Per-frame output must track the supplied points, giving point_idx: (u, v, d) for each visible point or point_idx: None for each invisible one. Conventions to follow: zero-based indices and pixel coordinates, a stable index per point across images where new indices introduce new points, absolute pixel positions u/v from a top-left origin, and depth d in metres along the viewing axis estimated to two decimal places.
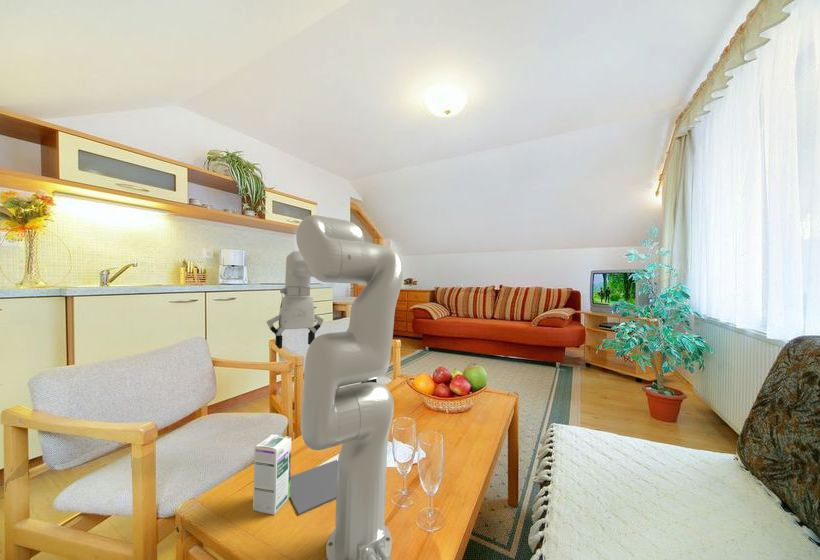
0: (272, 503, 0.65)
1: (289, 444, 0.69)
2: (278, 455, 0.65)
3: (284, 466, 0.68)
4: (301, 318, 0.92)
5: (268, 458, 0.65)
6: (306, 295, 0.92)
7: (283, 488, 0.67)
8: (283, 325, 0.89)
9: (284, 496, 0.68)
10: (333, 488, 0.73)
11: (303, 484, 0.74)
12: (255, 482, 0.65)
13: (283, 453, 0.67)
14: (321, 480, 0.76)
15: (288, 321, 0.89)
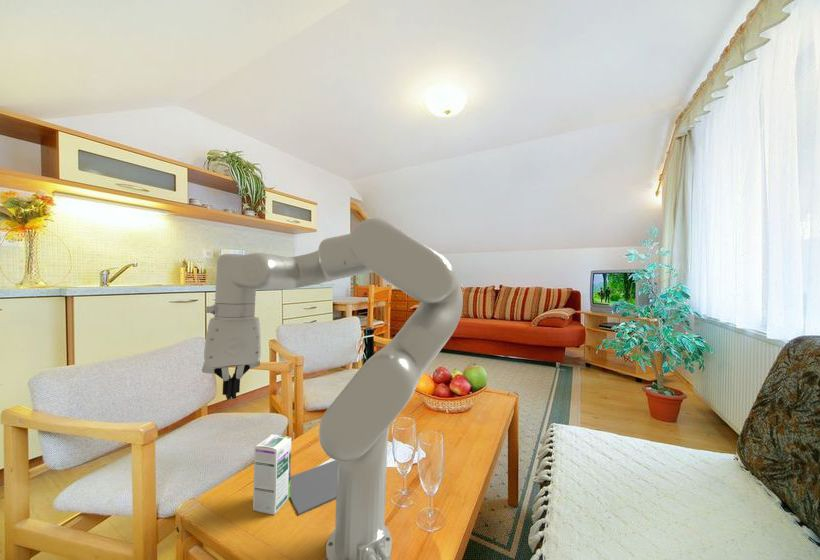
0: (272, 504, 0.65)
1: (289, 444, 0.69)
2: (278, 455, 0.65)
3: (284, 466, 0.68)
4: (238, 350, 0.61)
5: (268, 458, 0.65)
6: (246, 316, 0.62)
7: (283, 488, 0.67)
8: (208, 363, 0.58)
9: (284, 496, 0.68)
10: (333, 488, 0.73)
11: (303, 484, 0.74)
12: (255, 482, 0.65)
13: (283, 453, 0.67)
14: (321, 480, 0.76)
15: (216, 356, 0.59)
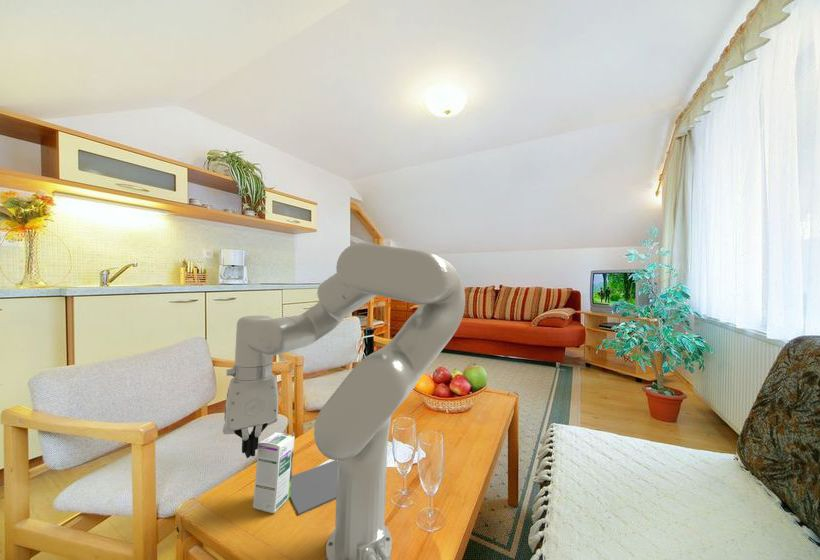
0: (273, 502, 0.65)
1: (292, 443, 0.70)
2: (281, 452, 0.66)
3: (286, 465, 0.68)
4: (258, 411, 0.64)
5: (271, 455, 0.66)
6: (265, 377, 0.64)
7: (284, 487, 0.67)
8: (229, 426, 0.60)
9: (284, 495, 0.68)
10: (333, 488, 0.73)
11: (303, 484, 0.74)
12: (257, 479, 0.66)
13: (286, 451, 0.68)
14: (321, 480, 0.76)
15: (237, 419, 0.61)
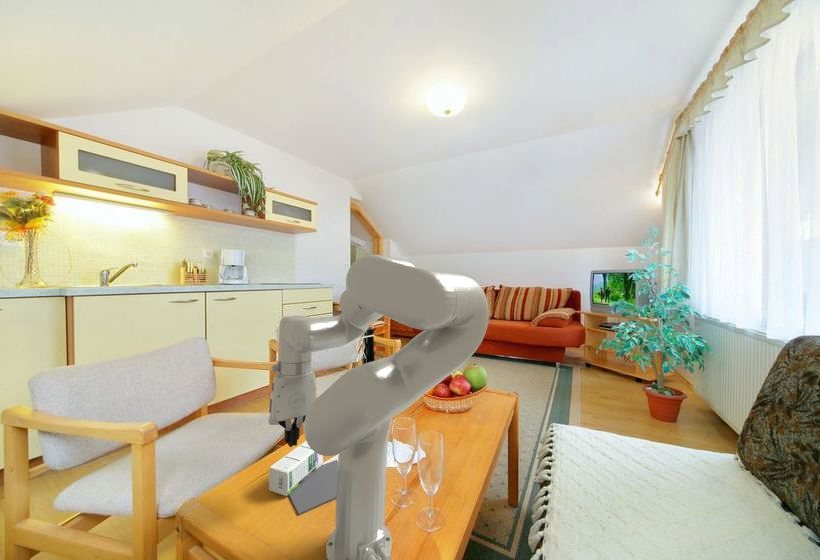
0: (292, 466, 0.72)
1: (320, 463, 0.82)
2: None
3: (311, 465, 0.78)
4: (299, 403, 0.69)
5: None
6: (306, 372, 0.69)
7: (298, 474, 0.73)
8: (275, 417, 0.66)
9: (292, 481, 0.71)
10: (333, 488, 0.73)
11: (303, 484, 0.74)
12: (289, 453, 0.77)
13: (318, 456, 0.81)
14: (321, 480, 0.76)
15: (282, 410, 0.66)
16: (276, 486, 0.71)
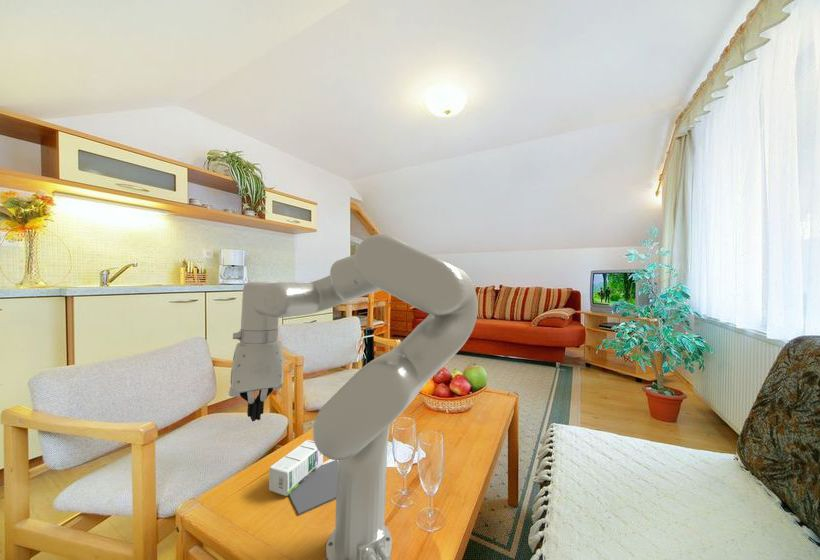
0: (292, 466, 0.72)
1: (320, 463, 0.82)
2: None
3: (311, 465, 0.78)
4: (263, 374, 0.64)
5: (313, 445, 0.82)
6: (271, 341, 0.65)
7: (298, 474, 0.73)
8: (235, 387, 0.61)
9: (292, 481, 0.71)
10: (333, 488, 0.73)
11: (303, 484, 0.74)
12: (289, 453, 0.77)
13: (318, 456, 0.81)
14: (321, 480, 0.76)
15: (243, 381, 0.62)
16: (276, 486, 0.71)
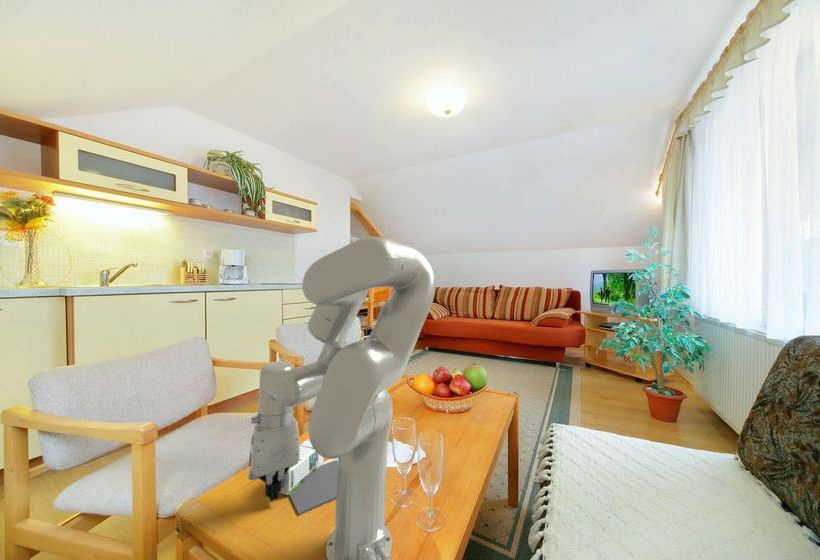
0: None
1: (320, 462, 0.82)
2: None
3: (311, 464, 0.78)
4: (281, 456, 0.66)
5: None
6: (288, 423, 0.67)
7: (299, 473, 0.74)
8: (255, 473, 0.63)
9: (294, 480, 0.72)
10: (333, 488, 0.73)
11: (303, 484, 0.74)
12: None
13: (319, 456, 0.81)
14: (321, 480, 0.76)
15: (262, 465, 0.64)
16: None
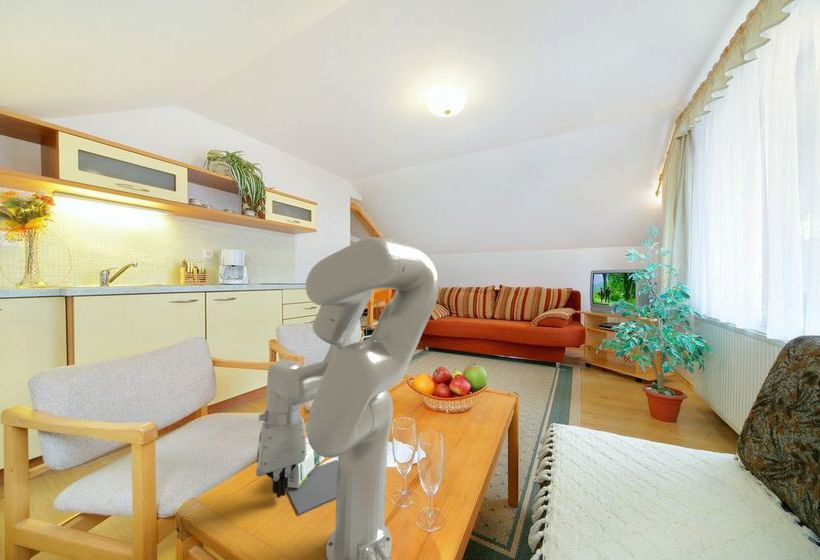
0: None
1: (322, 457, 0.84)
2: None
3: (316, 459, 0.80)
4: (287, 453, 0.67)
5: None
6: (294, 421, 0.68)
7: (307, 467, 0.76)
8: (262, 469, 0.64)
9: (303, 473, 0.74)
10: (333, 488, 0.73)
11: (303, 484, 0.74)
12: None
13: None
14: (321, 480, 0.76)
15: (269, 462, 0.65)
16: None
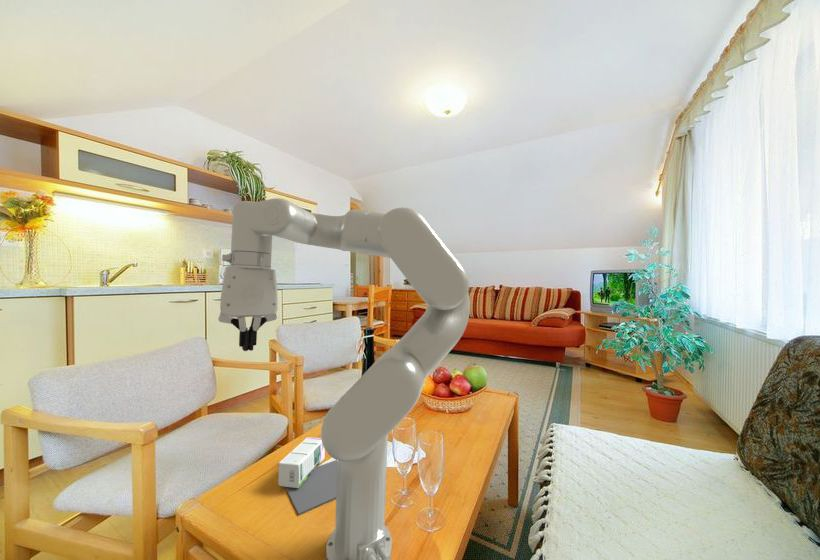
0: (301, 459, 0.75)
1: (322, 457, 0.84)
2: (322, 443, 0.85)
3: (316, 459, 0.80)
4: (255, 300, 0.60)
5: (315, 441, 0.84)
6: (263, 265, 0.60)
7: (307, 467, 0.76)
8: (225, 310, 0.56)
9: (303, 473, 0.74)
10: (333, 488, 0.73)
11: (303, 484, 0.74)
12: (294, 450, 0.79)
13: (321, 451, 0.84)
14: (321, 480, 0.76)
15: (233, 304, 0.57)
16: (286, 480, 0.72)
